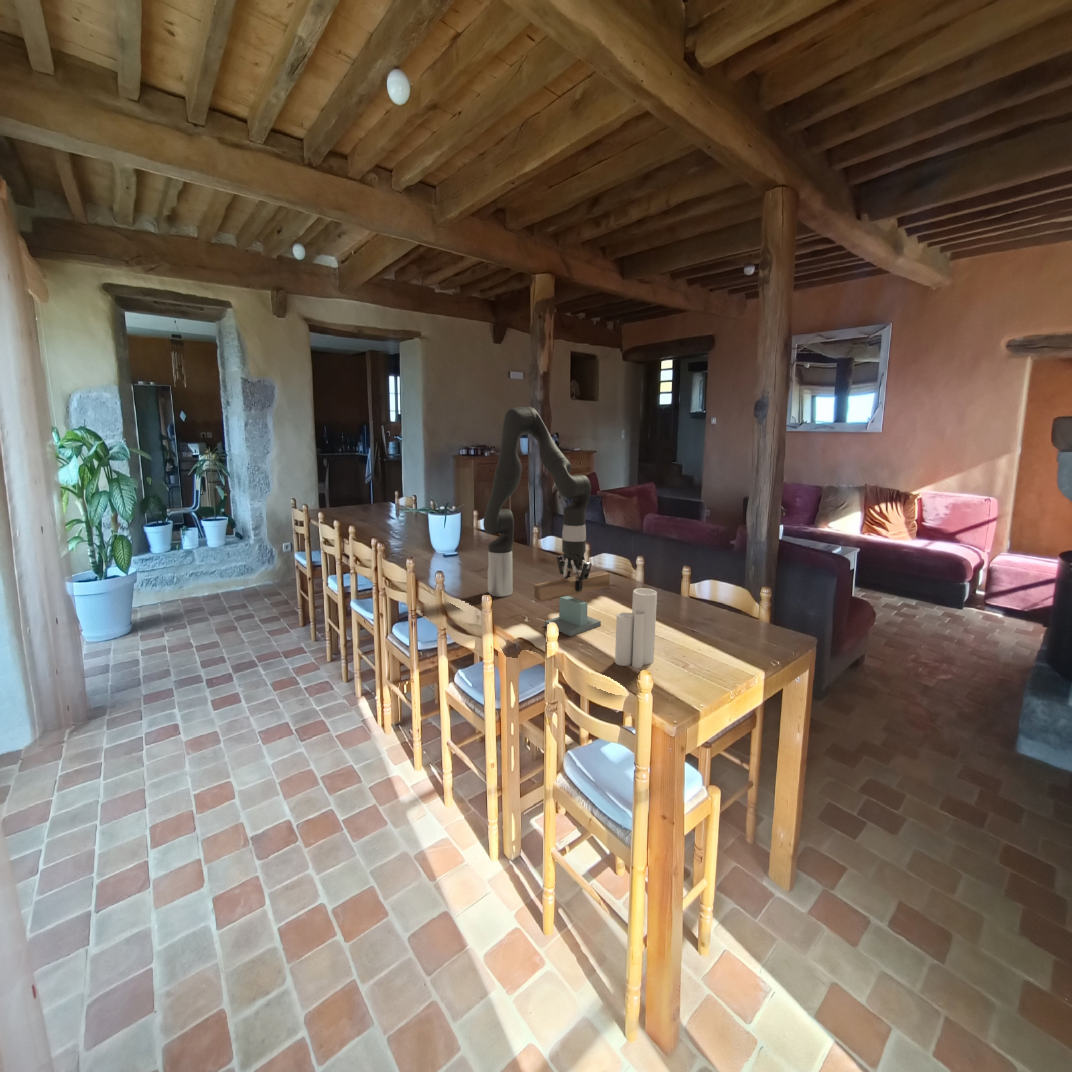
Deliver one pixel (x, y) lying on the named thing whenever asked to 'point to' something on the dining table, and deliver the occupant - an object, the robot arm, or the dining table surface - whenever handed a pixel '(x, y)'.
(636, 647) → the grey joined cylinders
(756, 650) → the dining table surface
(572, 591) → the walnut rod
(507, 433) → the robot arm
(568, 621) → the stand
